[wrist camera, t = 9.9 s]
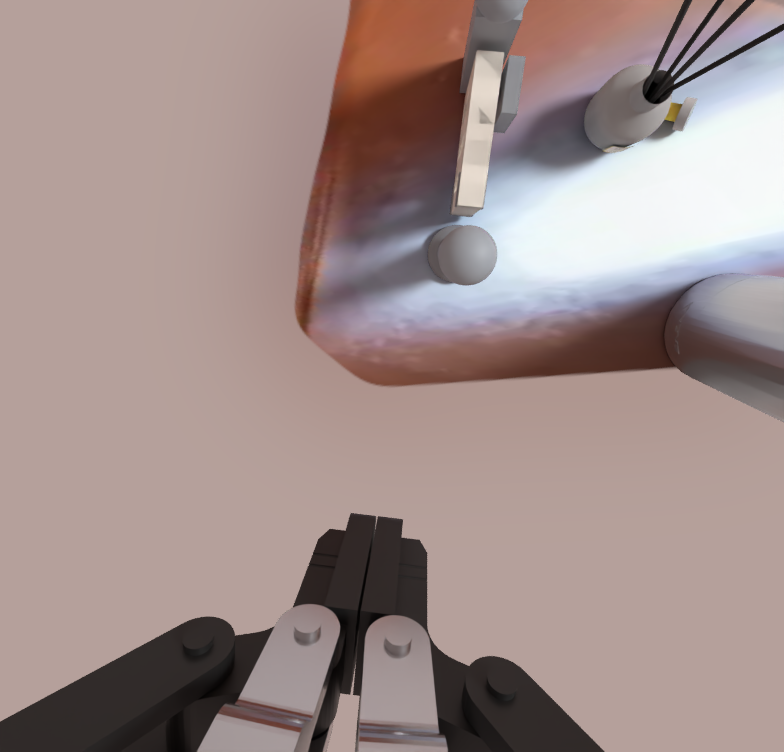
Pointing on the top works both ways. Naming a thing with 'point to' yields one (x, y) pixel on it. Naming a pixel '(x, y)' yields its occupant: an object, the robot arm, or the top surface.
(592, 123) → the reed diffuser
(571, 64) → the top surface
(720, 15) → the top surface
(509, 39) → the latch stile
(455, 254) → the hinge post
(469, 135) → the gate
